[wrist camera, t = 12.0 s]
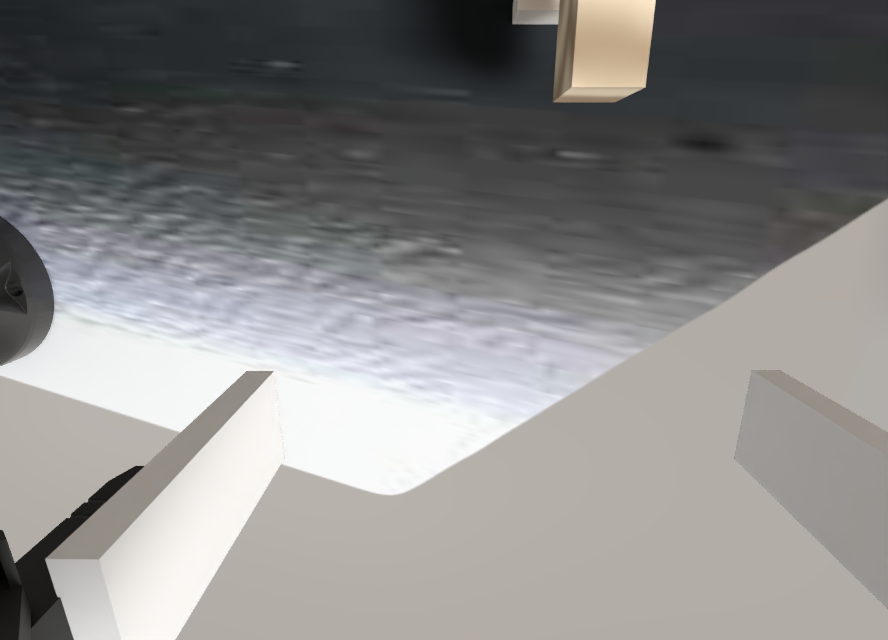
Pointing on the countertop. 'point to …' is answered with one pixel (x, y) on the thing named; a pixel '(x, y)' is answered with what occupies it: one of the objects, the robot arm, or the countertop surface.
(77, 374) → the countertop surface
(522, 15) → the block
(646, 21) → the bar
